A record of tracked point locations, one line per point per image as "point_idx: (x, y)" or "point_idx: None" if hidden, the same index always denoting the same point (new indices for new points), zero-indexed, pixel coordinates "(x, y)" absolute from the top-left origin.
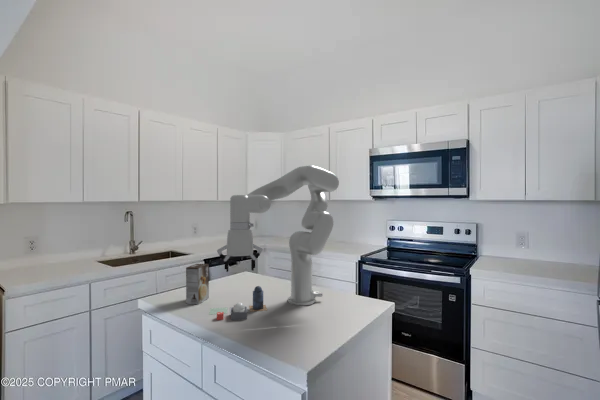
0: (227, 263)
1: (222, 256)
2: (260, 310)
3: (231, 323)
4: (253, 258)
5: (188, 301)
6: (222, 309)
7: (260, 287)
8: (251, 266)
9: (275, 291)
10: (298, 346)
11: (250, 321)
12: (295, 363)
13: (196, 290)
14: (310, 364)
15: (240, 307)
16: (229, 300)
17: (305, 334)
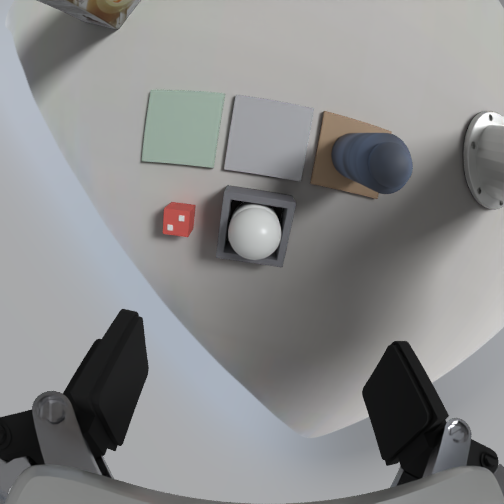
0: (118, 433)
1: (37, 461)
2: (354, 188)
3: (220, 263)
4: (407, 473)
5: (84, 20)
6: (198, 114)
7: (407, 179)
8: (387, 385)
9: (447, 11)
10: (336, 403)
11: (288, 269)
12: (302, 431)
13: (81, 12)
14: (320, 434)
15: (258, 259)
16: (249, 4)
17: None
